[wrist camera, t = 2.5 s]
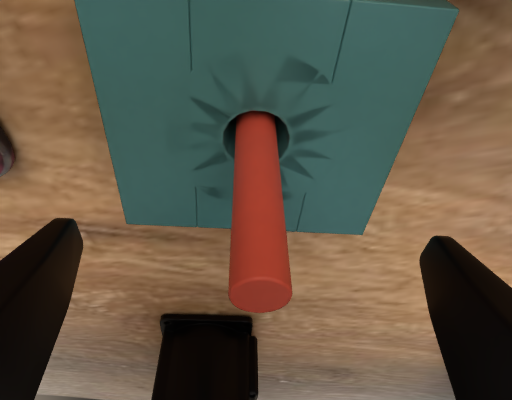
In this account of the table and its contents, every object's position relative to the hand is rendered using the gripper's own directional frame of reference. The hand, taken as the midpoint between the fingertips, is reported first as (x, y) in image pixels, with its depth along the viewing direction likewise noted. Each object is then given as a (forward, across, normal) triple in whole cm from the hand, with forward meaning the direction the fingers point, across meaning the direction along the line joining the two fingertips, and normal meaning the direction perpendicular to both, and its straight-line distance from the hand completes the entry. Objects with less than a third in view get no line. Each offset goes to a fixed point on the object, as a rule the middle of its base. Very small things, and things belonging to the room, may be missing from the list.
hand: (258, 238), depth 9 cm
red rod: (+7, 0, 0) cm, 7 cm away
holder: (+7, 0, 0) cm, 7 cm away
